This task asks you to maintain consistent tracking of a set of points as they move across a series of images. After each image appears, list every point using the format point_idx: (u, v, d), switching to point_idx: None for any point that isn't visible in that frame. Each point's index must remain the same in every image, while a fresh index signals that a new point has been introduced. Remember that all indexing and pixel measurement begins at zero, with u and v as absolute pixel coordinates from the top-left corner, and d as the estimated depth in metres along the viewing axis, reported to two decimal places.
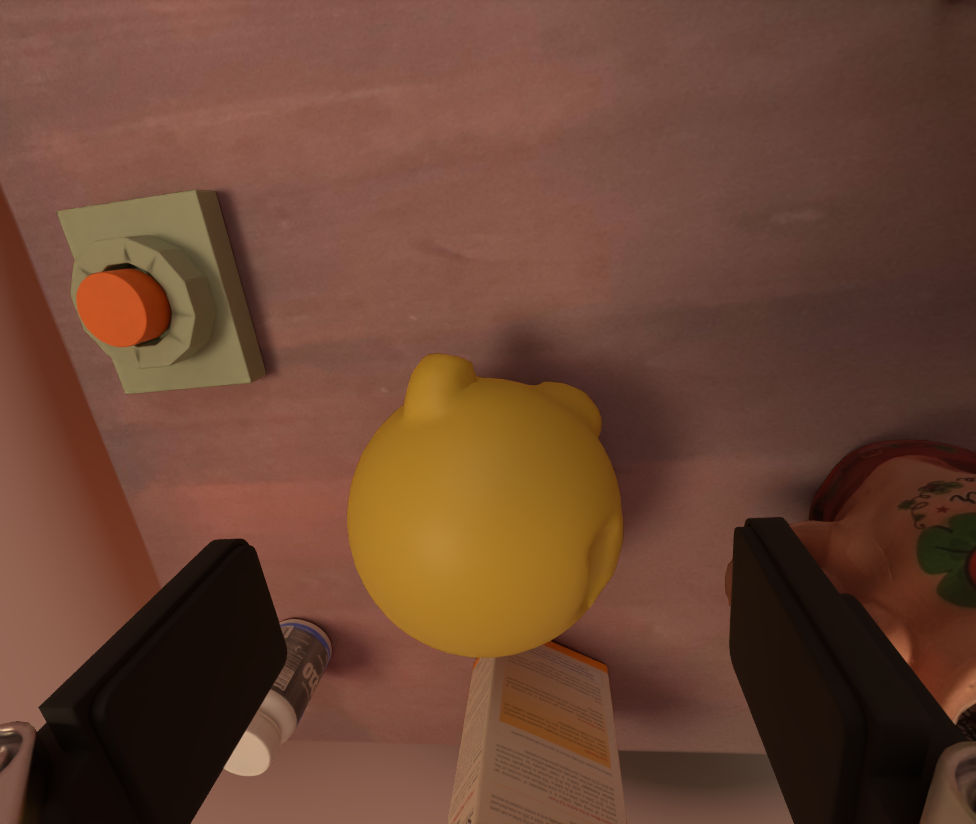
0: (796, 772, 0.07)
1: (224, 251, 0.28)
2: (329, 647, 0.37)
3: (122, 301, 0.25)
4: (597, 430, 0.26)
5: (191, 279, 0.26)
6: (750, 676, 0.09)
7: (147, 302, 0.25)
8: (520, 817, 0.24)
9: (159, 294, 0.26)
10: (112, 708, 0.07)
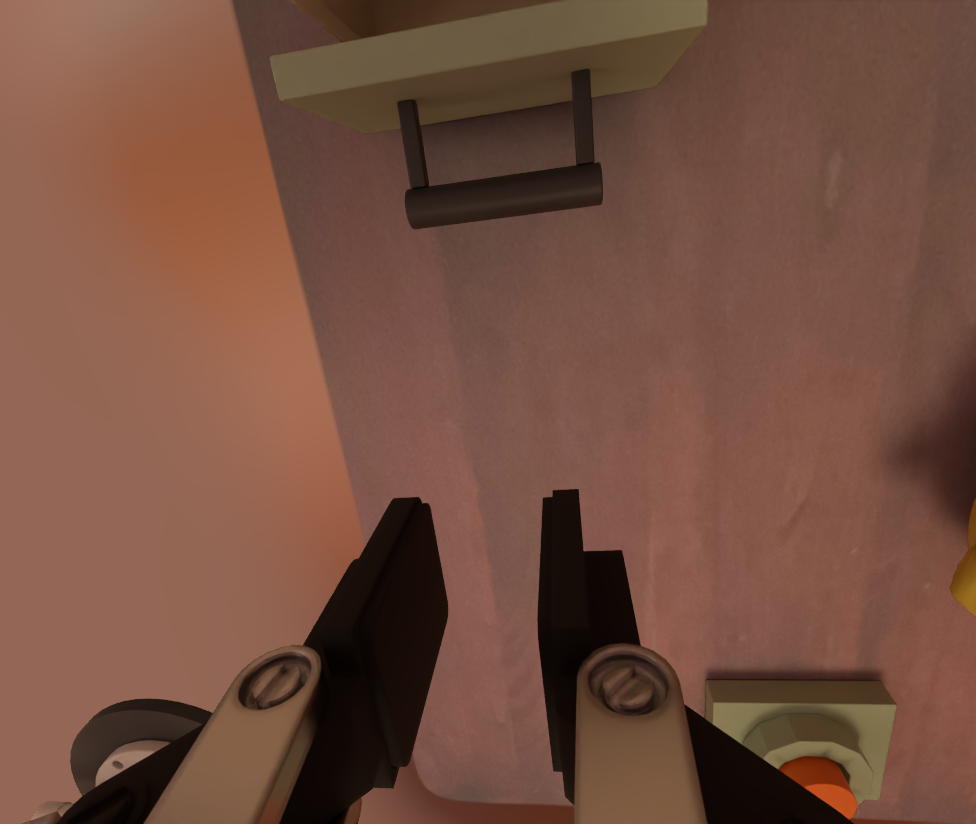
0: None
1: (760, 689, 0.32)
2: None
3: None
4: None
5: (794, 732, 0.30)
6: None
7: (819, 778, 0.29)
8: None
9: (806, 761, 0.30)
10: (375, 634, 0.08)
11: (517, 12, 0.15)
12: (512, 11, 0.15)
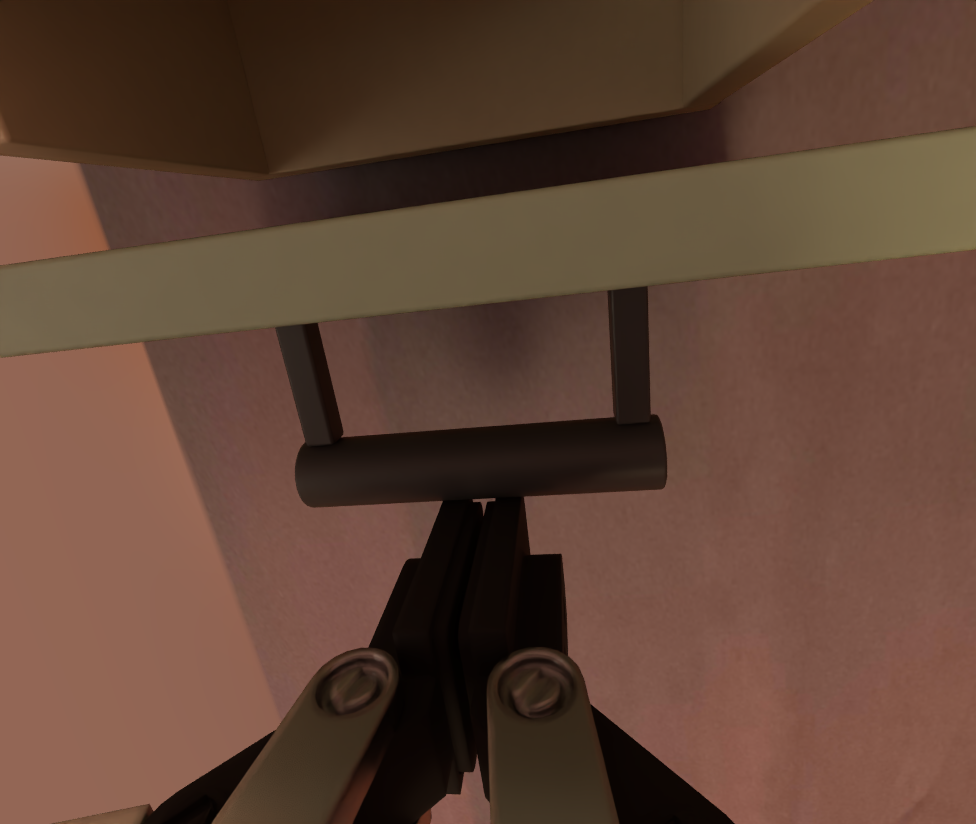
0: None
1: None
2: None
3: None
4: None
5: None
6: None
7: None
8: None
9: None
10: (449, 636, 0.07)
11: (490, 205, 0.06)
12: (478, 204, 0.06)
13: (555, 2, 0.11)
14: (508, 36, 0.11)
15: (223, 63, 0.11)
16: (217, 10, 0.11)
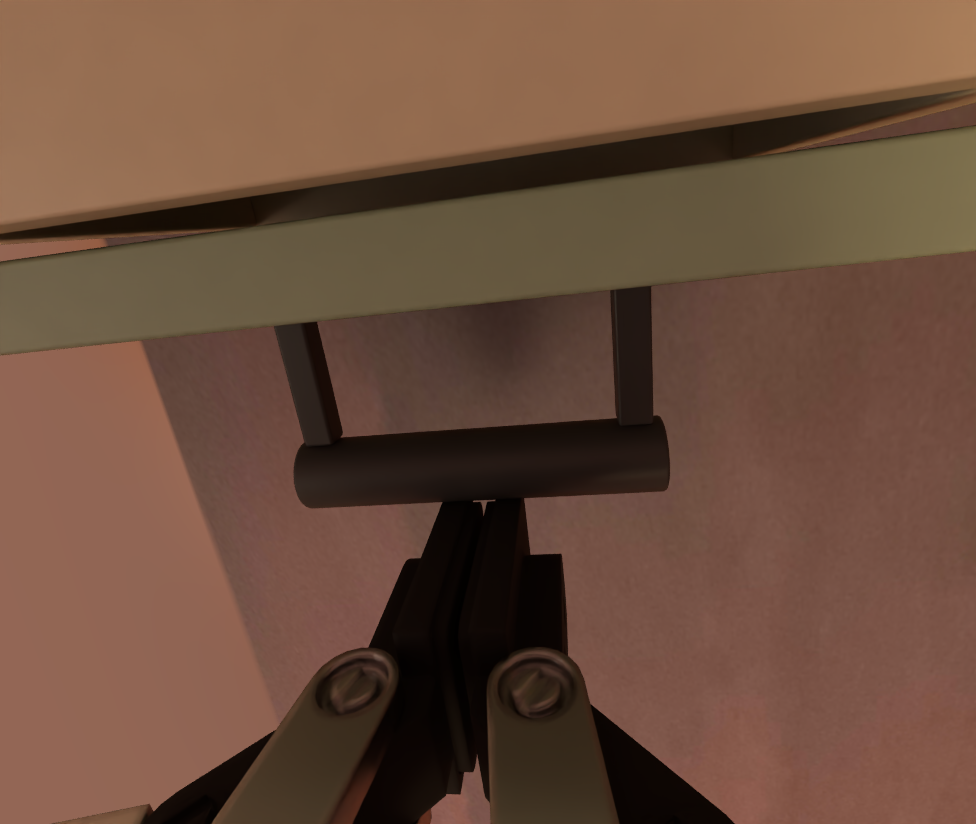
0: None
1: None
2: None
3: None
4: None
5: None
6: None
7: None
8: None
9: None
10: (449, 636, 0.07)
11: (493, 203, 0.06)
12: (481, 201, 0.06)
13: None
14: None
15: None
16: None
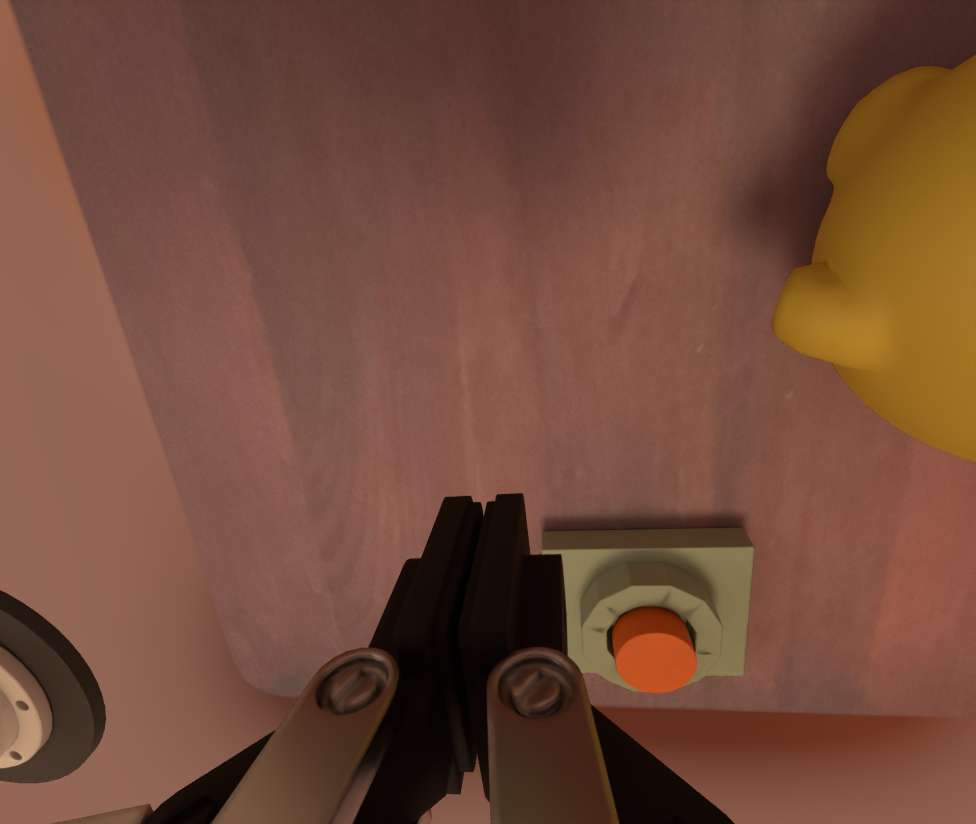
0: None
1: (601, 537, 0.27)
2: None
3: (647, 650, 0.24)
4: (939, 70, 0.16)
5: (629, 578, 0.25)
6: None
7: (651, 627, 0.24)
8: None
9: (642, 613, 0.25)
10: (448, 636, 0.07)
11: None
12: None
13: None
14: None
15: None
16: None
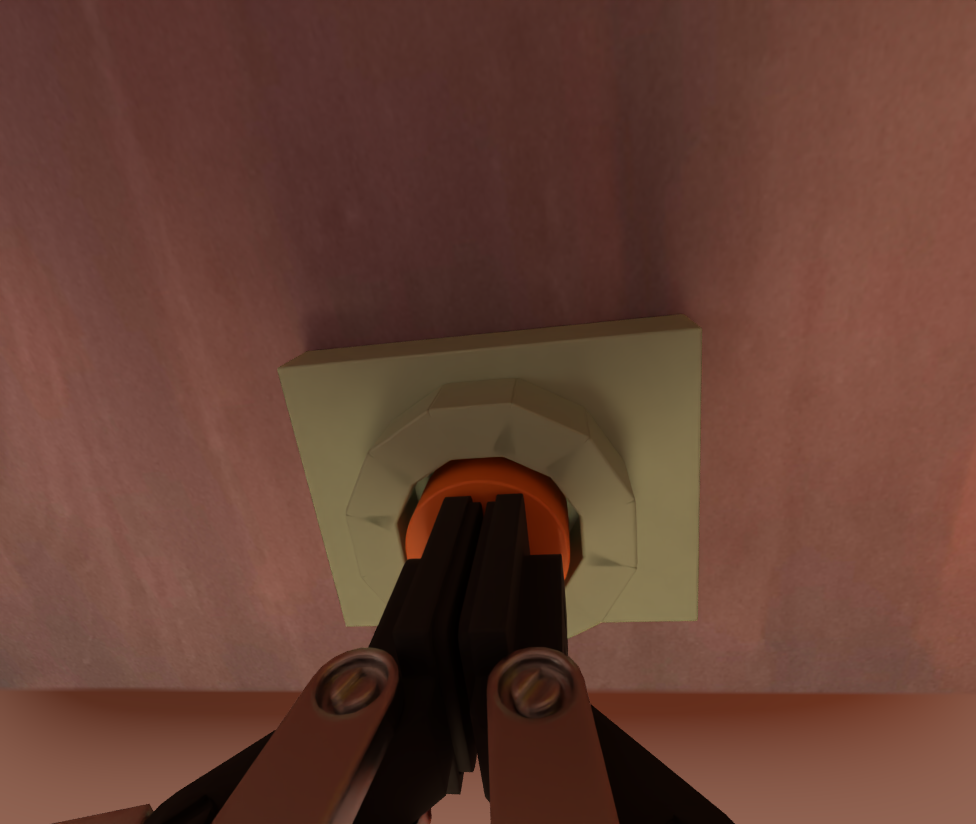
0: None
1: (403, 347, 0.13)
2: None
3: None
4: None
5: (433, 401, 0.11)
6: None
7: (469, 475, 0.11)
8: None
9: None
10: (448, 636, 0.07)
11: None
12: None
13: None
14: None
15: None
16: None
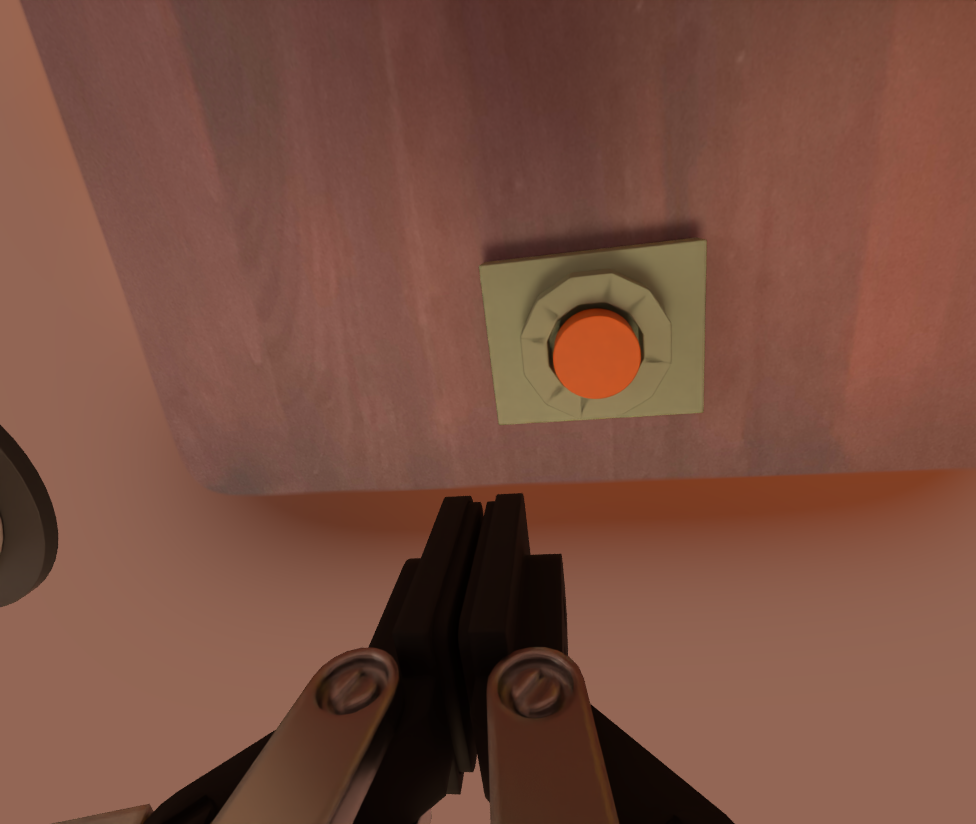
0: None
1: (544, 256, 0.25)
2: None
3: (586, 341, 0.22)
4: None
5: (569, 276, 0.23)
6: None
7: (589, 315, 0.22)
8: None
9: (583, 312, 0.23)
10: (449, 636, 0.08)
11: None
12: None
13: None
14: None
15: None
16: None
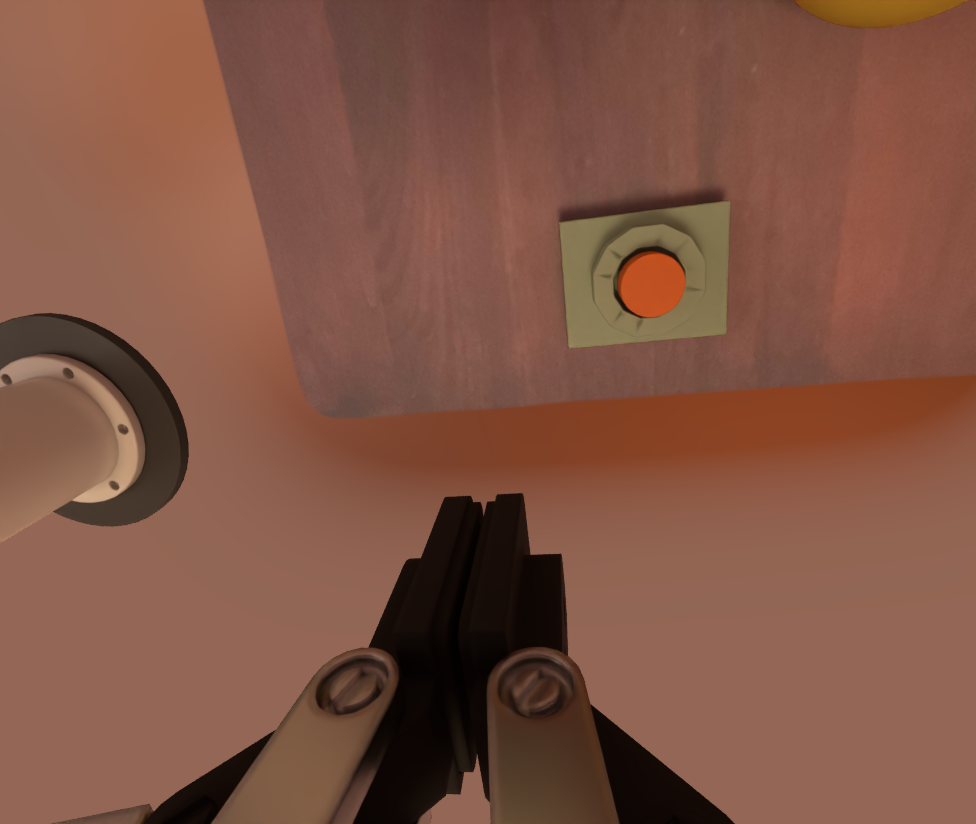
0: None
1: None
2: None
3: (645, 273, 0.30)
4: None
5: (630, 228, 0.31)
6: None
7: (648, 253, 0.30)
8: None
9: (641, 253, 0.31)
10: (448, 636, 0.07)
11: None
12: None
13: None
14: None
15: None
16: None
